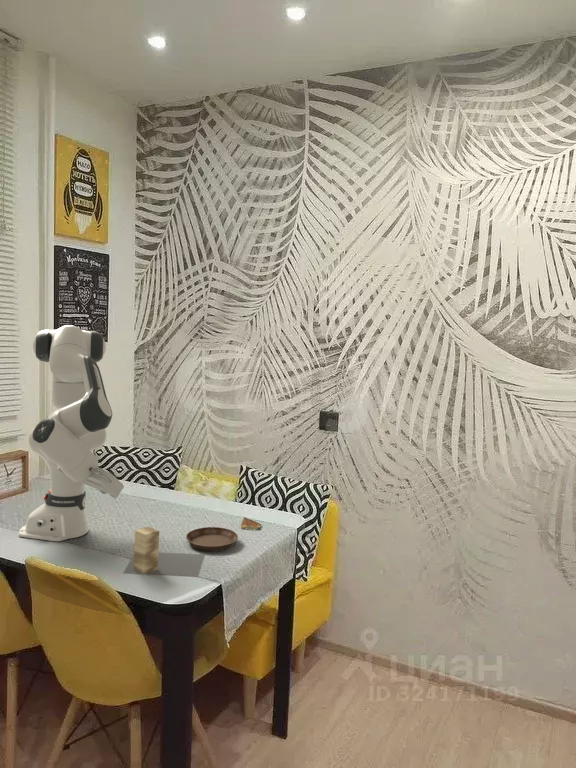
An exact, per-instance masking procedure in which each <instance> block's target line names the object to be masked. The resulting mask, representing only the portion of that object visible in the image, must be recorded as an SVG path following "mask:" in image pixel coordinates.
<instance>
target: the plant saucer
mask: <svg viewBox="0 0 576 768" xmlns="http://www.w3.org/2000/svg"><path fill="white" fill-rule="evenodd" d="M185 535H186V536H185V539H186V540H187V542H188V543H189V545H190V546H192V547H193V549H196V550H198V549H199V550H198V551H202V550H203V551H204V552H211V551H213V552H222V551H225V549H226V550H228V549H230V548H231V547H232V546H234V545H235V544H236V542H237V540H238V538H239V536H238V534H237V532H235V531H234V530H232V529H229V528H225V527H218V526H217V527H215V526H207V527H199V528H196V529H193V530H191V531H189V532H188V533H187V534H185ZM221 550H222V551H221ZM203 551H202V552H203Z"/></svg>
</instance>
